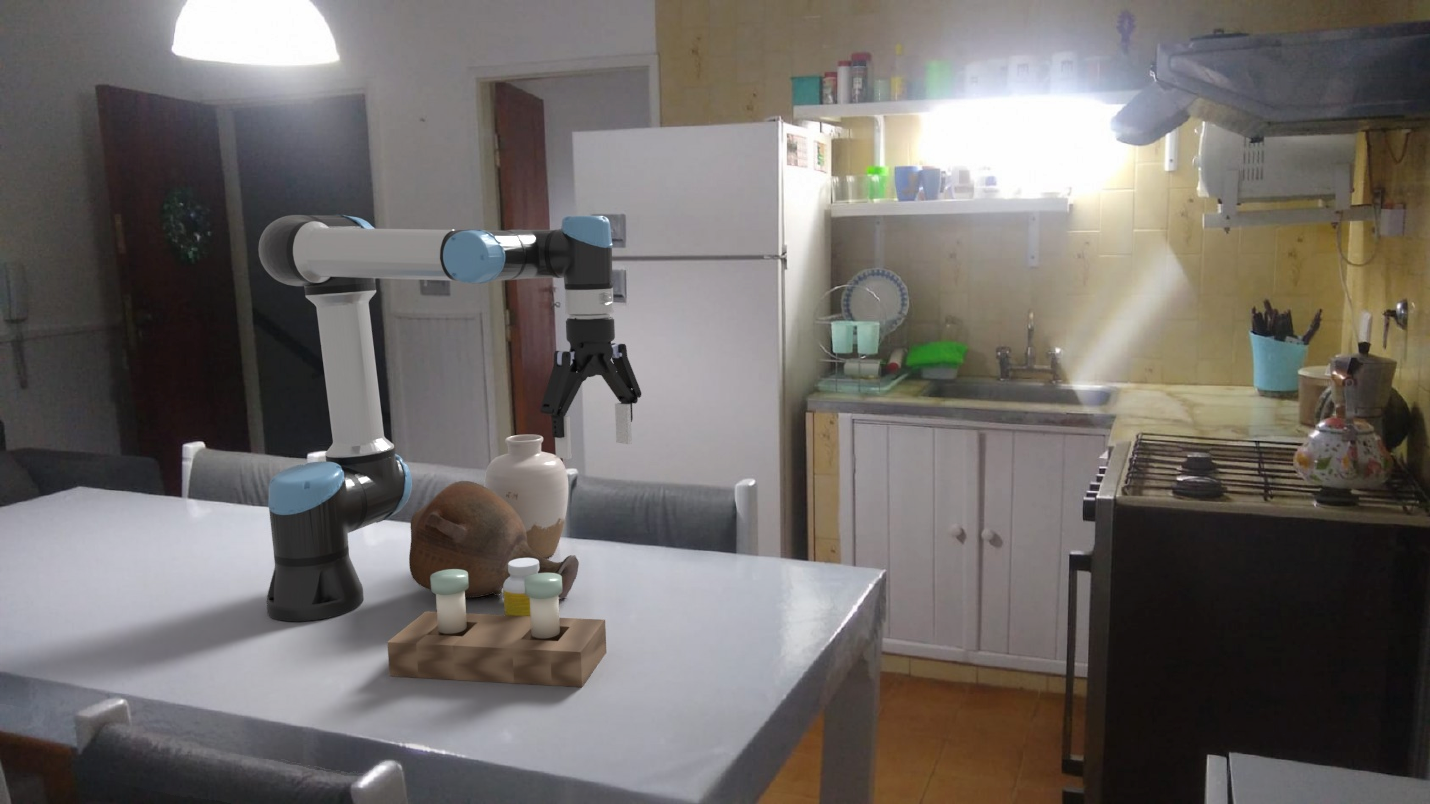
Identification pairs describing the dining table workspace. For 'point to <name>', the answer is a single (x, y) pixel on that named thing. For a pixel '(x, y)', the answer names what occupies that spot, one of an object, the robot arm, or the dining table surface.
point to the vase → (532, 490)
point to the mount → (498, 651)
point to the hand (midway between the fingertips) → (594, 450)
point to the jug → (475, 540)
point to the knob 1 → (450, 599)
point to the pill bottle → (518, 586)
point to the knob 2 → (544, 603)
